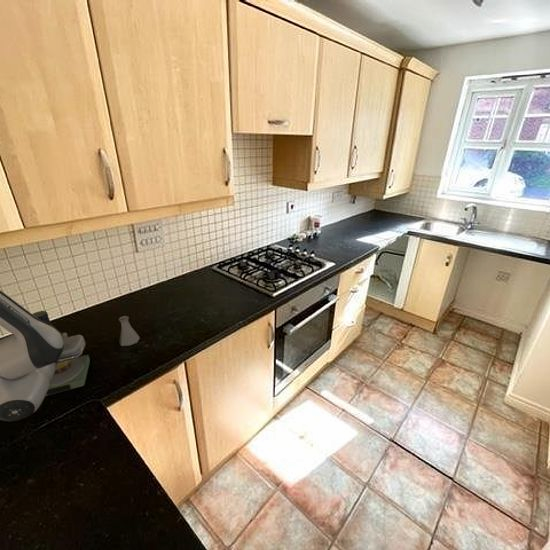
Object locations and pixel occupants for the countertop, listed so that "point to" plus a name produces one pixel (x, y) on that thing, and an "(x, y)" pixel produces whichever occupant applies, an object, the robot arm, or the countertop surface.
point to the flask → (127, 333)
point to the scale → (70, 376)
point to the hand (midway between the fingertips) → (49, 338)
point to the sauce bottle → (44, 317)
